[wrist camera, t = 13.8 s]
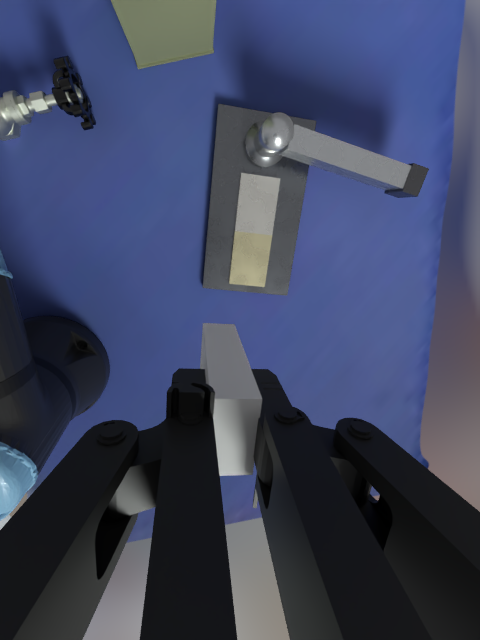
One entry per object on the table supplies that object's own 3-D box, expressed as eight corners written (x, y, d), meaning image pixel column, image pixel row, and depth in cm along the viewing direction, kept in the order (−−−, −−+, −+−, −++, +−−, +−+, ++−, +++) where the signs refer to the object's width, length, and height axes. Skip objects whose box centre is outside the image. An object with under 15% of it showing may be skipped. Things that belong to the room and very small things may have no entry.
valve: (1, 158, 38) (101, 134, 38) (-38, 148, 32) (83, 120, 32) (-28, 94, 36) (79, 69, 36) (-75, 69, 30) (54, 40, 30)
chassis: (202, 286, 45) (202, 289, 43) (217, 106, 39) (219, 100, 37) (285, 293, 47) (289, 297, 45) (313, 123, 41) (319, 118, 38)
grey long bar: (250, 152, 38) (259, 142, 33) (257, 123, 37) (268, 107, 32) (390, 199, 42) (420, 197, 36) (400, 173, 41) (432, 167, 36)
